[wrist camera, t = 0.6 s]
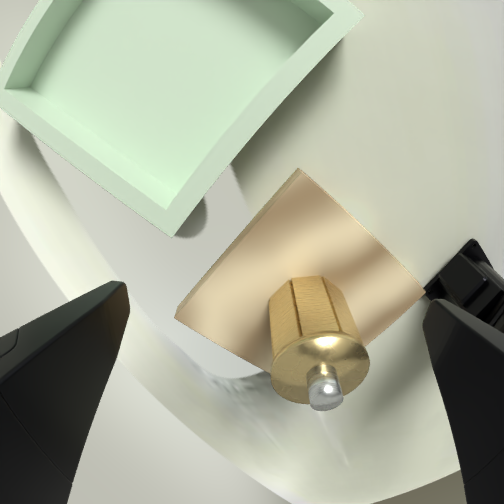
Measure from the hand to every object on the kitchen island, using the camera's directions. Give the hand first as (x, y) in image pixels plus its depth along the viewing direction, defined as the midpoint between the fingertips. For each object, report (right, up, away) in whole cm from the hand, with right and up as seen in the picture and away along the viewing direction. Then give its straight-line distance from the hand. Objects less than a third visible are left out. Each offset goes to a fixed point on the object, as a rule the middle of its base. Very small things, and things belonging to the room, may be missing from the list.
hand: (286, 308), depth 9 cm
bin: (-7, +14, +8) cm, 18 cm away
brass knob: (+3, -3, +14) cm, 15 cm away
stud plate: (+3, -2, +16) cm, 16 cm away
